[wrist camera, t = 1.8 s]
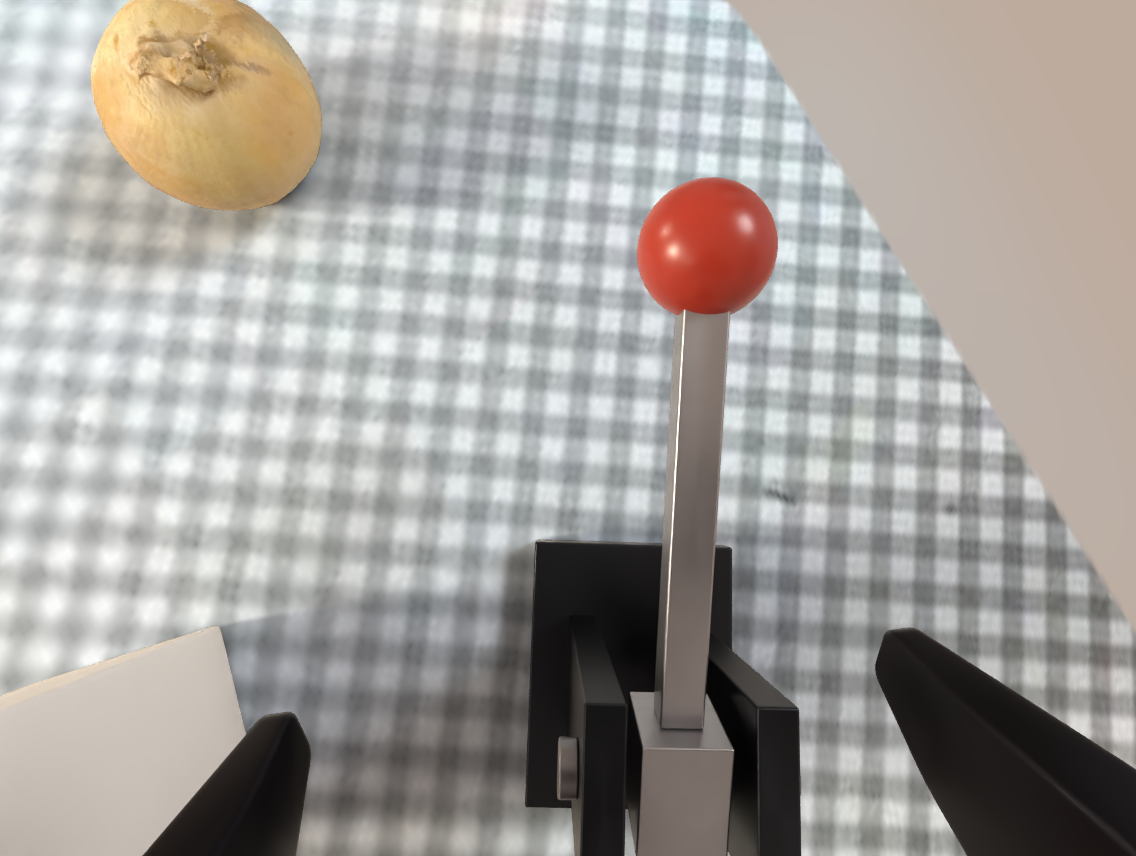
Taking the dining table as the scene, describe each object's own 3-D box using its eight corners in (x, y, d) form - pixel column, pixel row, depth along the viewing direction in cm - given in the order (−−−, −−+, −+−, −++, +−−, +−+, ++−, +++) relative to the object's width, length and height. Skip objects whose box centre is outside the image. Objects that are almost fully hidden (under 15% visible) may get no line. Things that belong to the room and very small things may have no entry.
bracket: (536, 539, 24) (523, 575, 13) (723, 545, 24) (861, 585, 13) (526, 791, 23) (503, 1055, 12) (723, 795, 23) (873, 1058, 12)
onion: (151, 230, 25) (-5, 128, 18) (170, 65, 26) (29, -95, 19) (335, 237, 25) (251, 138, 18) (347, 73, 26) (272, -82, 19)
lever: (632, 198, 15) (653, 150, 12) (753, 204, 15) (808, 158, 12) (604, 775, 16) (616, 873, 13) (715, 778, 16) (754, 875, 13)
